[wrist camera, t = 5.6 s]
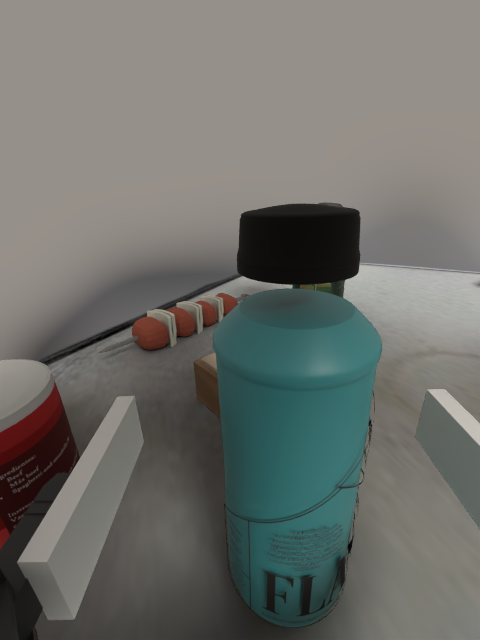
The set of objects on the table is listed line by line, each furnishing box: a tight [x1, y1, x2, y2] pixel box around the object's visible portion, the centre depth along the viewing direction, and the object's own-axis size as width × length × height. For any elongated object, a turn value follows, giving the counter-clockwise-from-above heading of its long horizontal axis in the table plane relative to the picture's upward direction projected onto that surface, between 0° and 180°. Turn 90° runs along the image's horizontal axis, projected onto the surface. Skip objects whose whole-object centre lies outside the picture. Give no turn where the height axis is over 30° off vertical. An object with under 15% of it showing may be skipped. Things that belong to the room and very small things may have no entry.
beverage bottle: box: [213, 204, 382, 628], centre depth 14 cm, size 6×7×20 cm
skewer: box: [99, 293, 250, 353], centre depth 48 cm, size 5×5×30 cm
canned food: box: [0, 359, 80, 549], centre depth 18 cm, size 8×8×11 cm
